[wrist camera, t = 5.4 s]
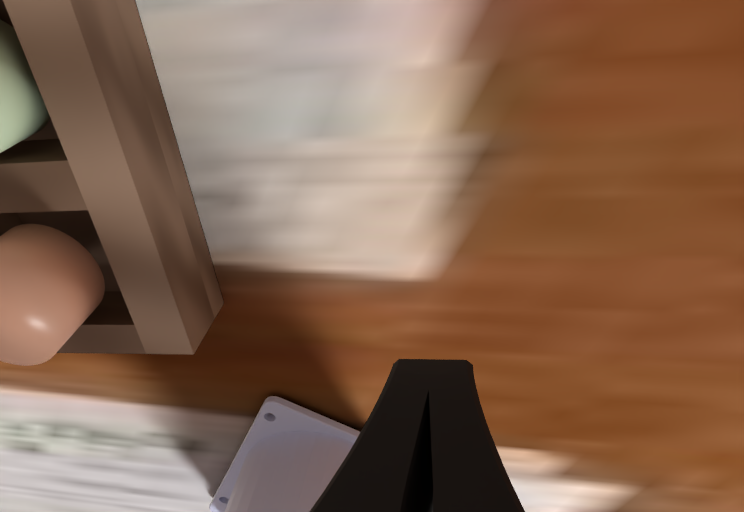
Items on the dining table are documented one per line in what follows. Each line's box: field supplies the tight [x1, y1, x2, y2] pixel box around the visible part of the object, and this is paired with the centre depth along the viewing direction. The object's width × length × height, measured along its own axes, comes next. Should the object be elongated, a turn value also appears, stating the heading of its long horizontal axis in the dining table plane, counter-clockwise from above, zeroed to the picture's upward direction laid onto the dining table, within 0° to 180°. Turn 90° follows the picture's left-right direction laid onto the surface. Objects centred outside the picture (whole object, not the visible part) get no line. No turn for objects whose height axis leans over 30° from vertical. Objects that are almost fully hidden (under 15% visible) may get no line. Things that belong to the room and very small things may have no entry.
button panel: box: [0, 0, 224, 354], centre depth 17 cm, size 19×8×3 cm, turn 6°
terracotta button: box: [0, 224, 105, 366], centre depth 18 cm, size 4×4×2 cm
